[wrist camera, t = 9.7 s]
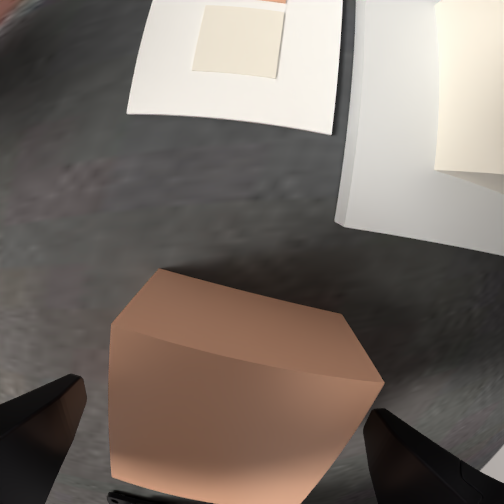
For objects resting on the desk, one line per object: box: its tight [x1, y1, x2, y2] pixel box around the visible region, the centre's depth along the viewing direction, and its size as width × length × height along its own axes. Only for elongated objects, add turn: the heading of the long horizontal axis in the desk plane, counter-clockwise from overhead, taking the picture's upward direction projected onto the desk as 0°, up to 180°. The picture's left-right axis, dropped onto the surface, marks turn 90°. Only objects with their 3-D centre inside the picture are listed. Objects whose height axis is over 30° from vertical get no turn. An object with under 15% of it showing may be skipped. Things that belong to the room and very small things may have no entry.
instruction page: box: [127, 0, 343, 135], centre depth 7 cm, size 8×6×1 cm
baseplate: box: [334, 0, 504, 256], centre depth 8 cm, size 11×11×1 cm
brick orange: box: [108, 268, 384, 504], centre depth 9 cm, size 6×6×4 cm
